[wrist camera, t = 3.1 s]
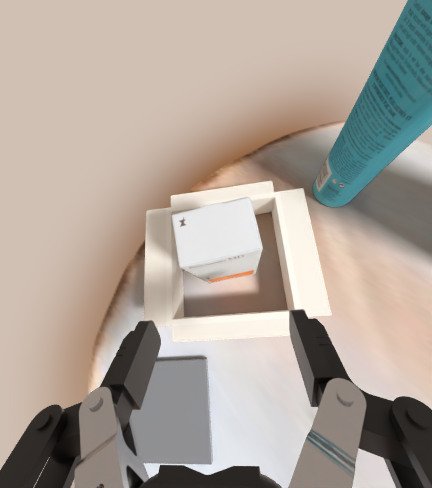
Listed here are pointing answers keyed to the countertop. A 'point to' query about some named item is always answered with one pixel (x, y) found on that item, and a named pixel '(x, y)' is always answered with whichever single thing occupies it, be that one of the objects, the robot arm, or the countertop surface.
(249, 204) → the skincare box
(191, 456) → the coaster
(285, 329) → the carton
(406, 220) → the countertop surface
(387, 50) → the tube
